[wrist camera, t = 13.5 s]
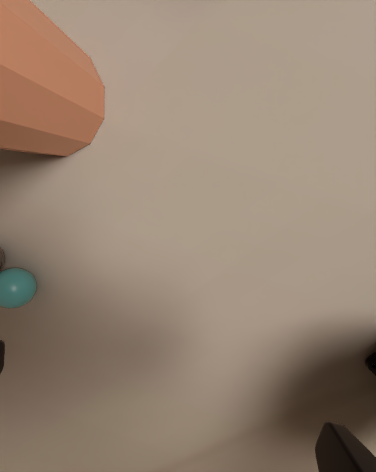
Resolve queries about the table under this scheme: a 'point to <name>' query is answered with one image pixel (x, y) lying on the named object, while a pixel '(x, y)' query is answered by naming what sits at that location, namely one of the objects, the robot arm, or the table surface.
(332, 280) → the table surface
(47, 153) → the faceted domed cylinder
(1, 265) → the graphite marble
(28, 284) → the teal marble
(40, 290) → the table surface
